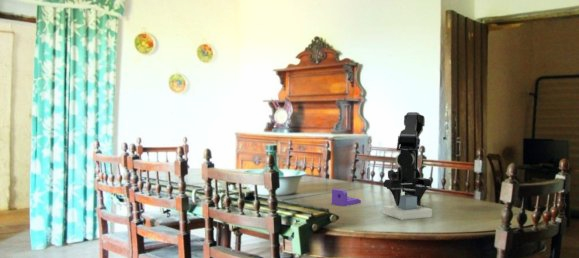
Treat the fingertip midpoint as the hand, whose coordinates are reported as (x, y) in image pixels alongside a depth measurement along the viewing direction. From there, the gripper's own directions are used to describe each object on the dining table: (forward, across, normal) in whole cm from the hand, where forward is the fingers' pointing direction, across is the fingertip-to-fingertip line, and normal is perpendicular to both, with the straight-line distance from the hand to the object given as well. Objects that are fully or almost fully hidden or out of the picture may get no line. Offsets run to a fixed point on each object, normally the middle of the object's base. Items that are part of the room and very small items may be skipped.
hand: (407, 205), depth 181 cm
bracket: (+5, +10, -30) cm, 32 cm away
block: (+4, 0, 0) cm, 4 cm away
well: (+4, 0, 0) cm, 4 cm away
